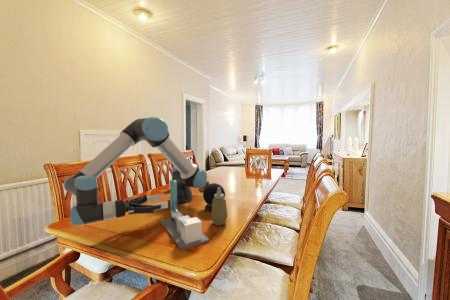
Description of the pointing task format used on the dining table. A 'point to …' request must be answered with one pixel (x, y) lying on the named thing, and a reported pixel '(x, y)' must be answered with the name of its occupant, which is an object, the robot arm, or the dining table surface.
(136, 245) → the dining table surface
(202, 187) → the bell
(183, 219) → the socket
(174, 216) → the tube
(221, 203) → the squeeze bottle
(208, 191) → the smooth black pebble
